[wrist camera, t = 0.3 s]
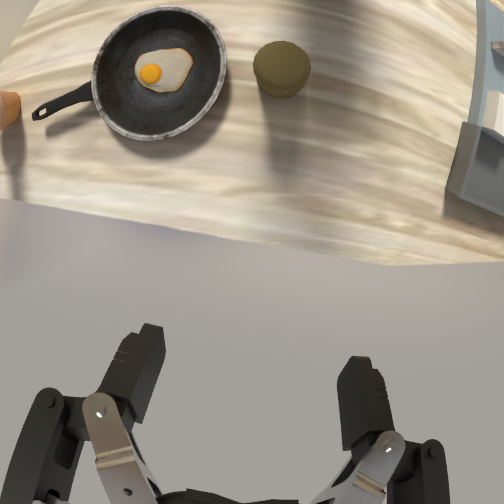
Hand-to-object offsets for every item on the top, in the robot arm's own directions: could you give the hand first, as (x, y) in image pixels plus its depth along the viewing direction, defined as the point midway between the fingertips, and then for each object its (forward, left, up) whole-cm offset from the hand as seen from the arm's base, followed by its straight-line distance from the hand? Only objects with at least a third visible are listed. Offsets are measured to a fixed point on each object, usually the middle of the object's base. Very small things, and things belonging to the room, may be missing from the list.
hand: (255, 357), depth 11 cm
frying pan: (-11, -23, -29) cm, 39 cm away
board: (-27, +35, -29) cm, 53 cm away
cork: (-13, -1, -29) cm, 32 cm away
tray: (-9, +35, -29) cm, 46 cm away
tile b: (-18, +31, -26) cm, 45 cm away
